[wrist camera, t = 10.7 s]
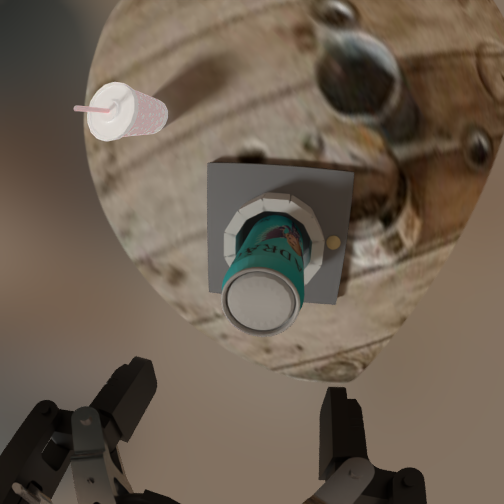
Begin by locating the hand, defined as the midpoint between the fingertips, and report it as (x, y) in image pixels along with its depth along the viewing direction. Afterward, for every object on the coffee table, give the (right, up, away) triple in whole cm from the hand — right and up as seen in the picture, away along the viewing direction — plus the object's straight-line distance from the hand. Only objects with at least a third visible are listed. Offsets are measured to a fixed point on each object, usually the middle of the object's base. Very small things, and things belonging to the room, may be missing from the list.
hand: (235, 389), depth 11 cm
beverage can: (+4, +8, +21) cm, 22 cm away
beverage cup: (-12, +23, +19) cm, 32 cm away
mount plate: (+4, +8, +22) cm, 24 cm away
